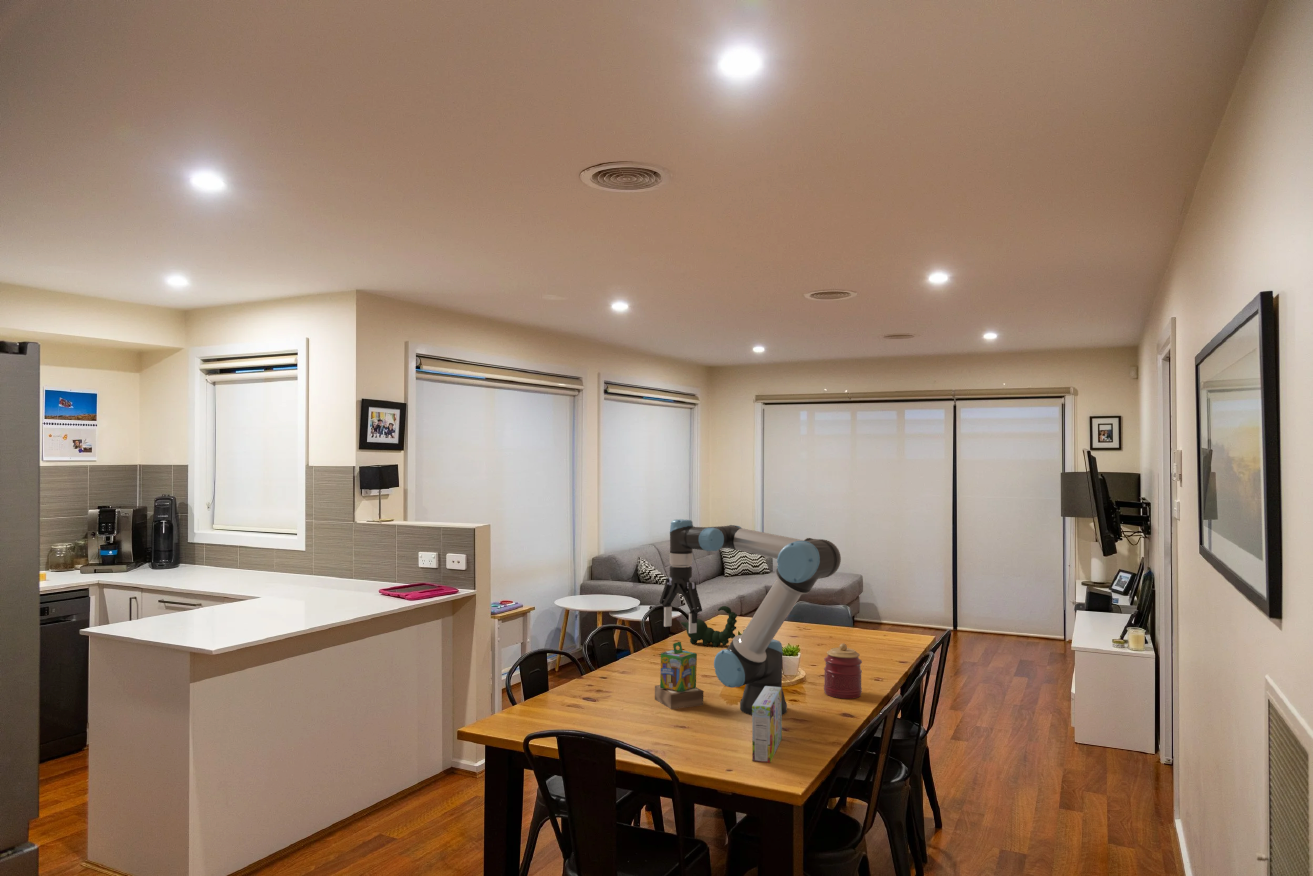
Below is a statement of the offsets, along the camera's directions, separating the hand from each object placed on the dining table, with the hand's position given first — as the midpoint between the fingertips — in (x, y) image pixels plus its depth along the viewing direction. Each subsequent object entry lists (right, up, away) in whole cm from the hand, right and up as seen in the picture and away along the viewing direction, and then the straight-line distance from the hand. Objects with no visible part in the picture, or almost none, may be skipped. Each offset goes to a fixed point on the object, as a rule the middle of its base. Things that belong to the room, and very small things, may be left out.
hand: (679, 629), depth 275 cm
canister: (+57, -26, +13) cm, 64 cm away
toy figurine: (+15, -28, +88) cm, 94 cm away
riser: (0, -25, -1) cm, 25 cm away
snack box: (+23, -23, -45) cm, 56 cm away
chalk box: (-1, -19, -1) cm, 19 cm away
